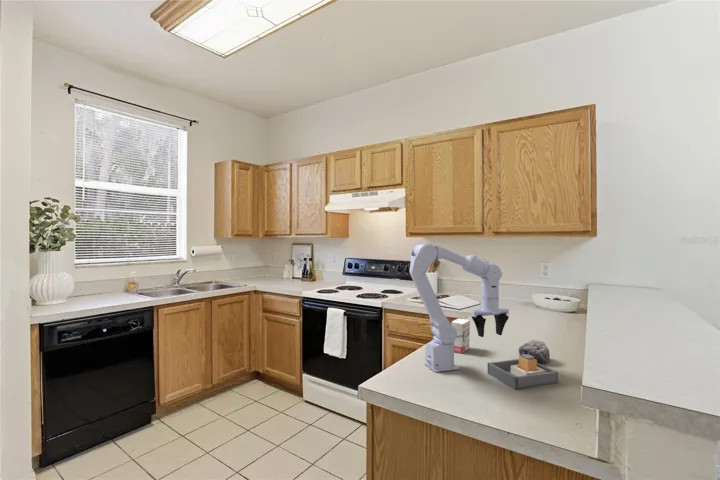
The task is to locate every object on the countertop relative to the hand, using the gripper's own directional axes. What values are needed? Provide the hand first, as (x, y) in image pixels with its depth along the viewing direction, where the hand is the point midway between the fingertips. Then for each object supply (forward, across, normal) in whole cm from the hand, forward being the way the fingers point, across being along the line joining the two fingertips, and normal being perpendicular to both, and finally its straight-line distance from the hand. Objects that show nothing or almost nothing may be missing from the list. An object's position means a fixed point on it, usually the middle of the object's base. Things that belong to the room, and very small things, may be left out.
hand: (490, 335), depth 121 cm
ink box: (+11, -1, +17) cm, 20 cm away
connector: (+10, +4, -13) cm, 17 cm away
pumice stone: (+11, +18, -1) cm, 21 cm away
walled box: (+10, +2, -13) cm, 17 cm away
